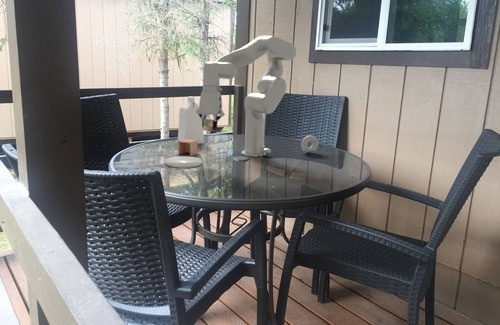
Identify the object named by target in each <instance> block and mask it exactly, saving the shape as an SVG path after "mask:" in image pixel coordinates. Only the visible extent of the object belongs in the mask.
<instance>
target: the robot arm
mask: <svg viewBox="0 0 500 325" xmlns="http://www.w3.org/2000/svg"><path fill="white" fill-rule="evenodd" d="M265 54H266V56H267V60H268V63H267V64H268V65H267V68H266V70H265V71H264V73H263V74H262V76H261V78H260V79H259V80H258V81H259V82H258V83H257V86H256V90H257V92H251V93H249V94H246V96H245V98H244V101H243V102H244V104H243V105H244V110H245V112H244V113H245V133H244V150H242V151H241V155H242V154H243V155H242V156H245V157H251V158H252V157H253V158H255V157H257V158H258V156H260V157H264V156H266V154H270V153H271V152H272V150H271V149H270V148H266V146H265V145H264V133H265V117H264V115H269V114H272V113H274V111H275V110H276V109H277V107H278V106H279V104H280V102H281V101H282V99H283V97H284V95H285V94H286V92H287V82H286V81H285V79H284V78H282V76H283V74H284V66H283V61H291V60H294V58H295V57H296V55H297V48H296V46H295V45H294V44H293V43H292V42H290V41H287V40H285V39H284V38H283V39H282V38H280V37H278V36H276V35H275V36H274V35H261V36H258V37H256V38H254V39H253V40H252V41H250V42H249V43H248V44H246V45H244V46H242V47H241V48H239V49H237V50H234V51H232V52H229V53H227V54H225V55H223V56H221V57H219V58H218V59H217V60H215V61H214V62H213V61H206V62H203V73H202V74H203V75H202V78H203V79H202V91H201V93H200V97H199V98H200V99H199V103H198V105H199V108H198V109H197V111H196V113H197V114H198V115H199V116H200V118H201V120H202V127H203V124H204V119H207V115H212V117H213V118H212V119H214V121H213V130H214V131H216V130H217V128H218V121H219V120H220V119H221V118H223V117H224V116H225V115H226V114H225V113H224V110H223V99H222V93H221V92H222V91H223V88H222V87H221V86H220V79H223V80H231V79H234V78H235V77H236V76H237V74H238V67H239V68H240V67H244V66H248V65H250V64H253V63H254V62H255V61H256V60H258V59H259V58H261V57H262V56H264V55H265ZM258 92H259V93H258ZM201 113H202V114H201ZM215 129H216V130H215ZM263 155H264V156H263Z"/></svg>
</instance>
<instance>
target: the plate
mask: <svg viewBox="0 0 500 325" xmlns="http://www.w3.org/2000/svg"><path fill="white" fill-rule="evenodd" d="M202 164H203V159H201V158H199V157H195V156H188V155H187V156H186V155H185V156H183V155H182V156H172V157H168V158H166V159H165V160H164V165H166V166H169V167H173V168H177V169H178V168H179V169H181V168H183V169H185V168H186V169H188V168H189V169H190V168H196V167H199V166H202Z"/></svg>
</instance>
